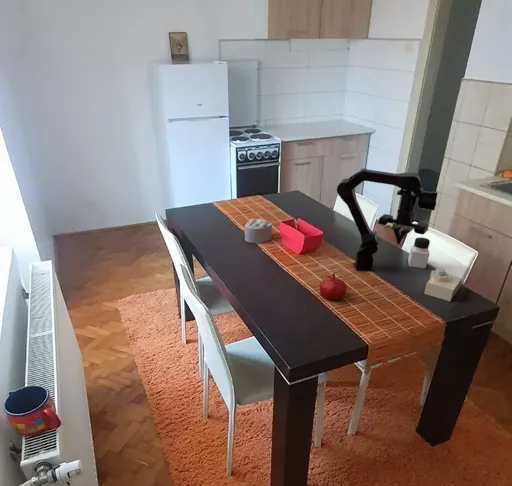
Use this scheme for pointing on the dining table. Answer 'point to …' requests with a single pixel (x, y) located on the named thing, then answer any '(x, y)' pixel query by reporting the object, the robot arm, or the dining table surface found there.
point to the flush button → (440, 272)
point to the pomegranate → (332, 287)
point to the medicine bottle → (419, 253)
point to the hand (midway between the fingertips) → (398, 243)
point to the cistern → (442, 286)
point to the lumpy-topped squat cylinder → (258, 231)
